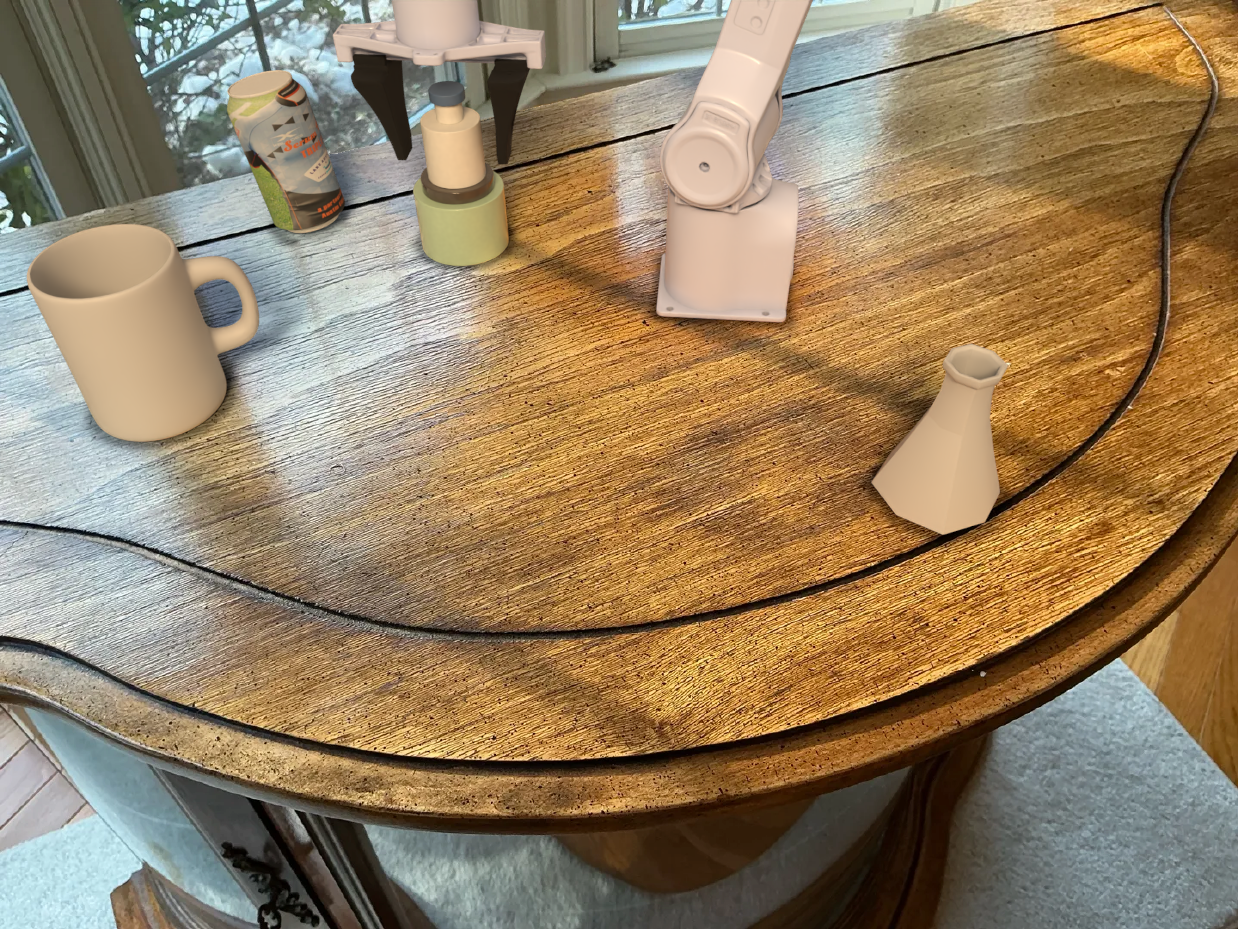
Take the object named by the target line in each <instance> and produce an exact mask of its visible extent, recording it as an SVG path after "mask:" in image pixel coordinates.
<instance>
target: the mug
mask: <svg viewBox="0 0 1238 929" xmlns="http://www.w3.org/2000/svg"><path fill="white" fill-rule="evenodd" d="M249 279H250V278H248V276H247V274H246V273H245V271H244V270H243V269H242V267H241V266H240V265H239V264H238V263H236V261H234V260H232V259H231V258H229V257H225V256H221V255H210V256H200V257H194V258H193V257H192V258H187V259H186V258H182V256H181V254H180V252H179V250H178V247H177V245H176V244H175V241H174V240H173V239H172V238H171V237H170V235H168V234H167V233H166V232H165V231H163V230H161V229H159V228H155V227H153V226H149V225H144V224H137V223H135V224H134V223H115V224H107V225H100V226H96V227H91V228H88V229H83V230H81V231H77V232H74V233H72V234H69V235H67V236H65V237H63V238H61V239H58V240H57V241H55V242H53V243H52V244H50V245H49V246H46V247H45V248H44V249H43V250H42V251H41V252H39V253H38V254H37V255H36V256H35V258H33V260H32V262H31V263H30V264H29V267H28V268H27V272H26V283H27V287H28V290H29V292H30V294H31V296H32V298H33V300H34V302H35V304H36V305H37V306H36V307H37V308H38V309H39V312H40V313H41V316H42V318H43V320H44V322H45V323H46V325H47V327H48V329H49V332H50V333H51V336H52V337H53V339H54V341H55V343H56V345H57V348H58V349H59V351H60V353H61V355H62V357H63V359H64V361H65V363H66V365H67V367H68V369H69V371H70V373H71V375H72V377H73V378H74V381H75V382H76V385H77V387H78V389H79V391H80V393H81V395H82V398H83V399H84V402H85V404H86V406H87V409H88V410H89V413H90V414H91V416H92V418H93V420H94V422H95V423H96V425H97V426H98V427H99V428H100V429H101V430H102V431H103V432H105V433H106V434H107V435H109V436H111V437H113V438H115V439H119V440H122V441H126V442H137V443H144V442H145V443H146V442H156V441H162V440H167V439H170V438H174V437H177V436H180V435H182V434H185V433H187V432H189V431H191V430H193V429H195V428H197V427H199V426H200V425H202V424H203V423H204V422H206V421H207V420H208V419H210V418H211V417H212V416H213V415H214V414H215V413H216V412H217V411H218V410H219V409H220V407H221V405H222V404H223V402H224V399H225V397H226V395H227V394H226V393H227V379H226V375H225V371H224V369H223V366H222V364H221V361H220V359H219V357H218V356H219V354H222V353H225V352H228V351H232V350H234V349H236V348H240V347H241V346H244V345H246V344H247V343H249V342H250V341H251V340H253V338H254V337H255V336H256V334H257V333H258V329H259V327H260V326H259V325H260V312H259V304H258V301H257V297H256V293H255V290H254V288H253V285H252V283H251V282H250V280H249ZM216 280H223V281H226V282H229V283H230V284H231V285H232V286H233V287H234V288H235V289H236V291H237V293H238V295H239V299H240V301H241V302H240V303H241V315H240V318H238V320H237V321H236V322H234V323H232V324H230V325H226V326H221V327H211V326H209V325H208V324H207V323H206V322H205V319H204V316H203V314H202V312H201V308H200V306H199V303H198V301H197V297H196V295H195V291H196V290H197V289H198V288H199V287H201V286H203V285H204V284H207V283H209V282H212V281H213V282H214V281H216Z"/></svg>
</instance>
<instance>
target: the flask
mask: <svg viewBox="0 0 1238 929" xmlns="http://www.w3.org/2000/svg"><path fill="white" fill-rule="evenodd" d="M1008 367H1009V364H1008V363H1007V362H1006V361H1005V360H1004V359H1003V358H1002V357H1000V355H998V354H997V352H995V351H994V350H992V349H989V348H987V347H986V348H985V347H982V346H980V345H978V344H974V343H968V344H964V345H960V346H956V347H951V349H950V350H949V351H948V354H947V355H946V356H945V357H944V360H943V362H942V369H943V370H944V371H945V375H944V378H943V382H942V384H941V387H940V390H939V392H938V394H937V396H936V397H935V399H934V401H933V403H932V405H930V407H929V408H928V409H927V411H925V413H924V414H923V416H922V417H921V418H920V419H919V421H917V423H916V424H915V425H914V426H913V428H912V429H911V430H909V432H908V433H907V434H906V435H905V436H904V437H903V438H902V439H901V440H900V442H898V444H897V445H896V446H895V447H894V448H893V449H892V451H891V452H890V453H889V454H888V456H887V457H886V459H885V461H884V462H883V463H882V465H881V467H880V468H879V470H877V473H876V474H875V476H874V477H873V479H872V480H871V482H870V483H871V485H872V486H873V487H874V488H875V489H876V491H877V493H879V495H880V496H881V497H882V498H883V500H884V501H885V502H886V504H887V505H888V506H889V508H890V509H891V510H892V511H893V513H894V514H895V515H896V516H897V517H900V518H903V519H904V520H907V521H909V522H911V523H914V524H916V525H918V526H921V527H923V528H925V529H928V530H931V531H933V532H936V533H938V534H940V535H947V534H951V533H953V532H956V531H960V530H964V529H967V528H970V527H972V526H977V525H980V524H983V523H985V522H986V521H987V519H988V517H989V515H990V513H991V511H992V509H993V506H994V505H995V504H996V501H997V499H998V498H999V496H1000V493H1001V490H1000V480H999V476H998V469H997V463H996V458H995V452H994V442H993V433H992V423H991V413H992V412H991V411H992V403H993V402H992V401H993V393H994V390H995V387H996V386H997V385H999V383H1000V382H1001V380H1002V378H1003V376H1004V375H1005V373H1006V371H1007V369H1008Z"/></svg>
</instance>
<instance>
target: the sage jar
mask: <svg viewBox="0 0 1238 929" xmlns="http://www.w3.org/2000/svg"><path fill="white" fill-rule="evenodd" d="M485 168H486V175H485V177H484V179H483V180H482V181H481V182H479V183H477V184H475V185H473V186H470V187H467V188H460V189H447V188H442V187H439V186H436V185H434V184H433V183H432V182H431V181H430V180H429V177H428V171H427V166H426V167H425V168H424V169H423V170H422V172H421V174H420V177H419V178H418V179H417V180H416V182H415V183H414V185H413V188H412V194H413V199H414V206H415V212H416V217H417V224H418V229H419V235H420V242H421V247H422V251H423V252H424V254H425V256H427V257H428V258H429V259H430V260H433V261H434V262H436V263H439V264H442V265H446V266H453V267H469V266H476V265H481V264H484V263H487V262H489V261H491V260H494V259H496V258H497V257H500V255H502V253H504V252H505V250H506V249H507V247H508V245H509V242H510V236H509V226H508V225H509V224H508V216H507V215H508V214H507V202H506V195H505V194H506V192H505V183H504V180H503V178H502V177H501V175H500V174H499V173H497V172H496V171H495V170H494V169H493V167H492V166H491V165H490V164H488V163H487V162H485Z"/></svg>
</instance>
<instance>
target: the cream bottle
mask: <svg viewBox="0 0 1238 929" xmlns="http://www.w3.org/2000/svg"><path fill="white" fill-rule="evenodd" d="M427 93H428V99H429V102H430V103H431V105H434V108H433V109H430V110H428V111H426V112H424V114H422V116H421V117H420V120H419V123H420V124H419V125H420V130H421V137H422V146H423V152H424V157H425V163H426V167H427V171H428V177H429V180H430V181H431V182H432V183H433V184H434V185H436V186H439V187H442V188H447V189H460V188H467V187H470V186H473V185H475V184H477V183H479V182H481V181H482V180H483V179H484V177H485V175H486V168H485V163H486V158H485V151H484V140H483V132H482V120H481V115H480V114H479V113H478V111H477V110H475V109H473V108H471V107H467V106H464V105H463V102H464V101H465V100H466V90H465V85H464V84H463V83H461V82H459V81H454V80H443V81H438V82H435V83H433V84H430V86H429V87H428V88H427Z"/></svg>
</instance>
